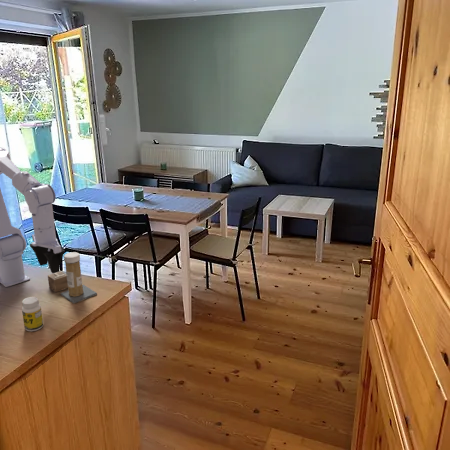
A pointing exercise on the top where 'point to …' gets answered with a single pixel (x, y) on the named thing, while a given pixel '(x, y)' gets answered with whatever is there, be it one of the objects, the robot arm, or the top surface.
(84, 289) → the grey mat
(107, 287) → the top surface
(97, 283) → the top surface
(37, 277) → the top surface
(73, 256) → the sprinkles bottle
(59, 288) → the walnut block
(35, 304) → the supplement bottle
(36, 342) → the top surface
